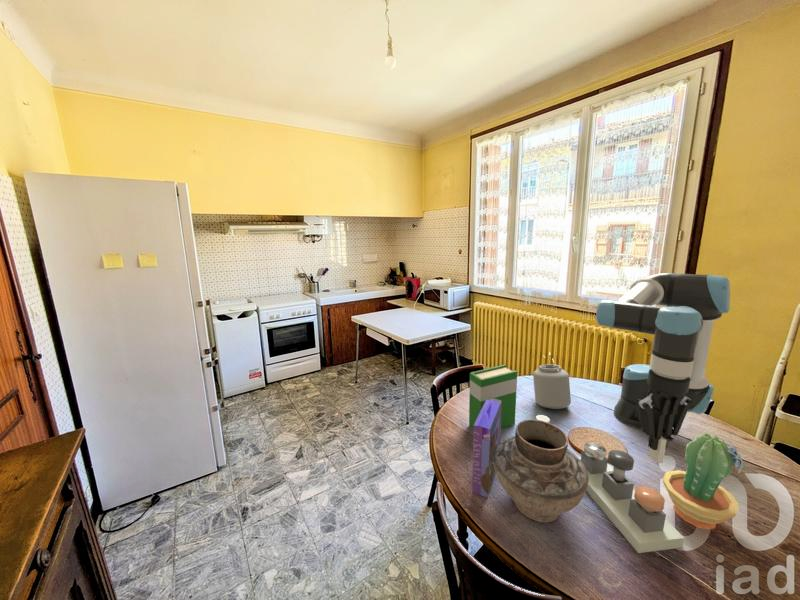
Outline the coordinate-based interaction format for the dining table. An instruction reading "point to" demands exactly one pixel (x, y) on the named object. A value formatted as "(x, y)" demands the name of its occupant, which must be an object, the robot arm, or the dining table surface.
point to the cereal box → (485, 446)
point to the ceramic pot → (540, 471)
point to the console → (628, 509)
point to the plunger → (595, 451)
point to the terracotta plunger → (649, 499)
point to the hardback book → (493, 392)
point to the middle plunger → (620, 463)
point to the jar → (552, 386)
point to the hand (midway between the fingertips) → (655, 459)
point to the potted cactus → (704, 482)
